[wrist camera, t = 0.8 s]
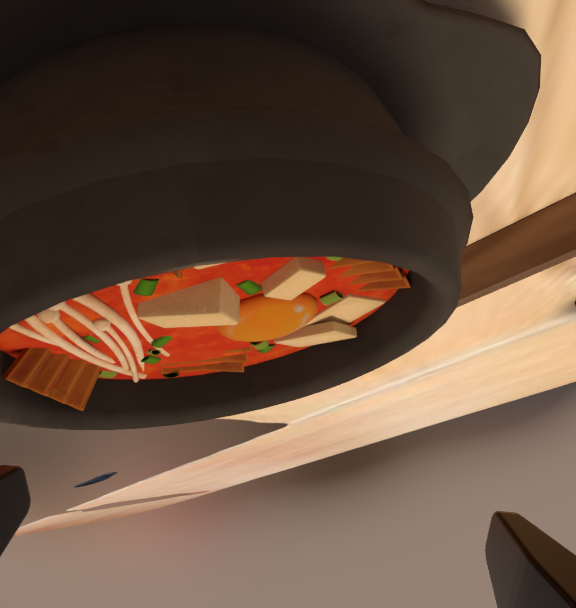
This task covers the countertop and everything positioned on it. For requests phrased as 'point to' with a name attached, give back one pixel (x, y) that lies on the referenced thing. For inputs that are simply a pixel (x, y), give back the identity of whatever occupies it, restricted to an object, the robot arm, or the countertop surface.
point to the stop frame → (519, 250)
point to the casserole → (236, 196)
